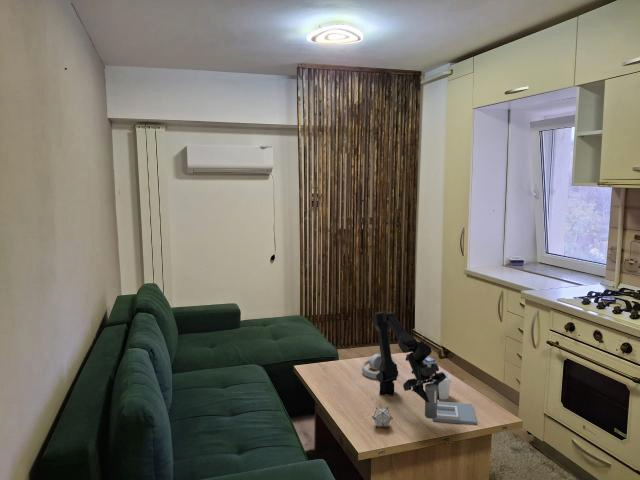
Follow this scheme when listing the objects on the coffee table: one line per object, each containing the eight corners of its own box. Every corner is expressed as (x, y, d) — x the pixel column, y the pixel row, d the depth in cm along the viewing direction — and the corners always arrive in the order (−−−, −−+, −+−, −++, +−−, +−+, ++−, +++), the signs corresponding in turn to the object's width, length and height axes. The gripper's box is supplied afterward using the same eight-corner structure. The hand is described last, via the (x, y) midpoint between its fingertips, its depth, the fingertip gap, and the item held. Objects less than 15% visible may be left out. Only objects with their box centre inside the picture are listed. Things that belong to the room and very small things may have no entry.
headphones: (369, 362, 266) (358, 380, 248) (368, 349, 264) (357, 367, 246) (401, 366, 258) (392, 386, 241) (401, 353, 256) (391, 372, 239)
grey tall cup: (422, 414, 197) (422, 384, 196) (432, 411, 199) (432, 382, 198) (429, 420, 193) (430, 389, 191) (440, 417, 195) (440, 387, 193)
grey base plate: (432, 420, 201) (432, 415, 201) (431, 403, 217) (431, 397, 217) (476, 424, 198) (476, 418, 198) (472, 406, 213) (472, 400, 213)
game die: (384, 437, 196) (386, 426, 189) (367, 425, 200) (368, 414, 193) (395, 420, 201) (397, 409, 194) (378, 409, 205) (379, 398, 198)
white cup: (450, 400, 219) (451, 380, 218) (433, 399, 221) (433, 379, 219) (449, 393, 227) (449, 373, 226) (432, 392, 228) (433, 372, 227)
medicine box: (419, 371, 253) (419, 356, 252) (425, 370, 255) (426, 354, 254) (428, 377, 246) (428, 361, 245) (435, 375, 248) (435, 359, 246)
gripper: (407, 361, 193) (423, 398, 184) (444, 354, 200) (460, 389, 192) (396, 372, 201) (411, 408, 192) (432, 365, 208) (447, 399, 200)
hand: (433, 400), depth 194 cm, fingers closed on grey tall cup, 5 cm apart
